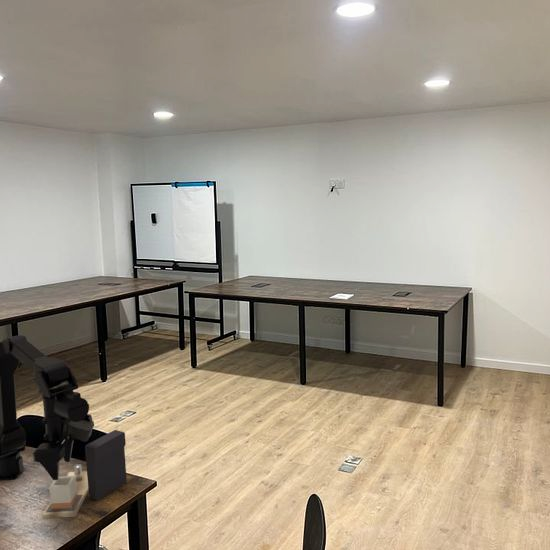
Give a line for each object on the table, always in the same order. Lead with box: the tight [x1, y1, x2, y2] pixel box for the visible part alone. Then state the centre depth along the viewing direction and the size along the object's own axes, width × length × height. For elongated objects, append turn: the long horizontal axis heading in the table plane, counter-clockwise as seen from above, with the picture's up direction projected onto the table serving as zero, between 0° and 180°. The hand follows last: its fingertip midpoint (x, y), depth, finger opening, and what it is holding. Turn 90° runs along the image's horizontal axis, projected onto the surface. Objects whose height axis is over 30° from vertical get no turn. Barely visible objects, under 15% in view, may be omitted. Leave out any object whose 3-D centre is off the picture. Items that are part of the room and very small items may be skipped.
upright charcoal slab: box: [84, 429, 128, 501], centre depth 146 cm, size 11×4×15 cm, turn 151°
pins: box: [73, 463, 83, 481], centre depth 145 cm, size 2×14×4 cm, turn 3°
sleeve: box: [48, 475, 77, 509], centre depth 139 cm, size 5×5×6 cm
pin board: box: [42, 470, 89, 519], centre depth 145 cm, size 8×21×1 cm, turn 3°
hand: (61, 470), depth 138 cm, fingers open, 9 cm apart
